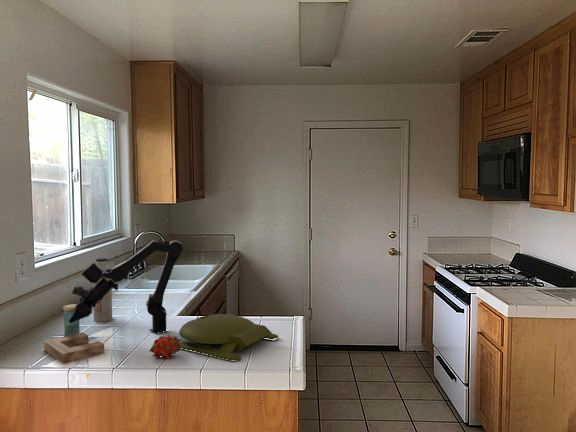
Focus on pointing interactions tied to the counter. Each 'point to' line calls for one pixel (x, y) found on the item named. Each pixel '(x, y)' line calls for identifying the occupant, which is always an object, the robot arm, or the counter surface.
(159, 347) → the dragon fruit
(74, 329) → the cord reel
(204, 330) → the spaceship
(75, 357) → the cutout shelf
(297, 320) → the counter surface
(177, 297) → the counter surface
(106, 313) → the thermos bottle
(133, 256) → the robot arm
